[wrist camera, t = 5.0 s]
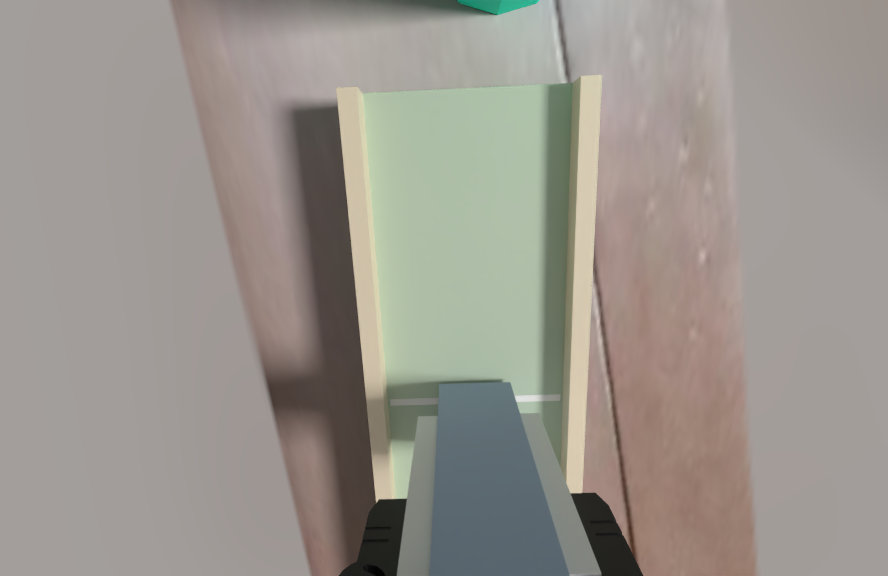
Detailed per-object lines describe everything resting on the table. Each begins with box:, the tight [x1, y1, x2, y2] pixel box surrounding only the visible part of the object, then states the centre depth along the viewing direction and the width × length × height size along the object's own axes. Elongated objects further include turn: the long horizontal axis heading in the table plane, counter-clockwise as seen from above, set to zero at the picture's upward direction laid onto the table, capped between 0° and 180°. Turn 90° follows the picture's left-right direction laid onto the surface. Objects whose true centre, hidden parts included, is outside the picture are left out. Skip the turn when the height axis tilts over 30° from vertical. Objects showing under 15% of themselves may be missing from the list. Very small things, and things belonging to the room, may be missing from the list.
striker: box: [429, 382, 570, 576], centre depth 11 cm, size 3×3×15 cm
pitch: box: [336, 75, 602, 503], centre depth 18 cm, size 25×9×3 cm, turn 2°
